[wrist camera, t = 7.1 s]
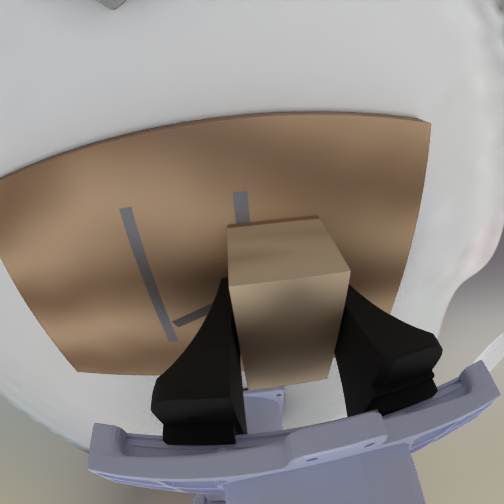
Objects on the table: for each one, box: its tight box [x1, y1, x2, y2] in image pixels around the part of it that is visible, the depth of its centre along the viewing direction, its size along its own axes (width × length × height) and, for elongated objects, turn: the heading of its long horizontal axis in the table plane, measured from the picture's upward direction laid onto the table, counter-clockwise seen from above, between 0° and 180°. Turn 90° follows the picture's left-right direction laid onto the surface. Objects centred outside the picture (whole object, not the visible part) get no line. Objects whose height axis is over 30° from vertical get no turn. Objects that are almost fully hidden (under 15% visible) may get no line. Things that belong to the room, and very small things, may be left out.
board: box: [0, 112, 431, 375], centre depth 14 cm, size 16×24×1 cm, turn 94°
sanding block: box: [227, 216, 351, 390], centre depth 12 cm, size 7×4×4 cm, turn 4°
